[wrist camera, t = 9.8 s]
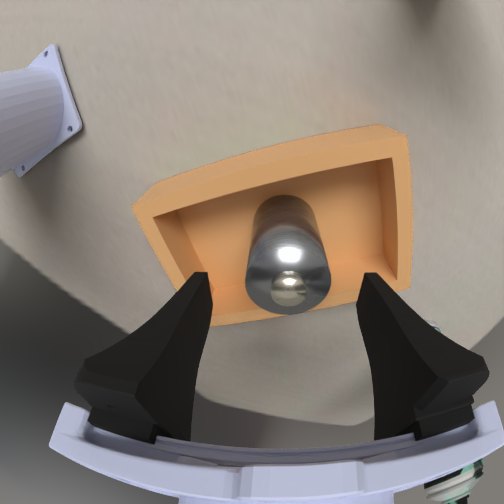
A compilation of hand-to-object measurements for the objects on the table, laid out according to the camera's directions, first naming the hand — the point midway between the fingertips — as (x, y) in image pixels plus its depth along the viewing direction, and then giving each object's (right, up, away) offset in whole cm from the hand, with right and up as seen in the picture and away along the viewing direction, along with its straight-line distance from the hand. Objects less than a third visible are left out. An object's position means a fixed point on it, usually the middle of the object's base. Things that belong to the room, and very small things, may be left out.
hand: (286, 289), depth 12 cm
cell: (0, +4, +5) cm, 6 cm away
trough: (+1, +4, +6) cm, 7 cm away
